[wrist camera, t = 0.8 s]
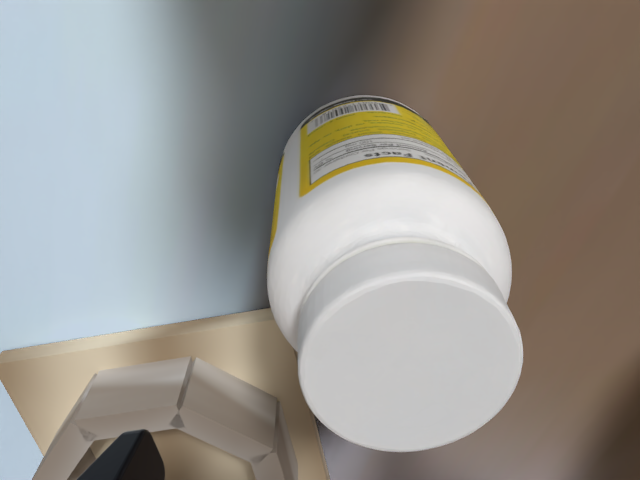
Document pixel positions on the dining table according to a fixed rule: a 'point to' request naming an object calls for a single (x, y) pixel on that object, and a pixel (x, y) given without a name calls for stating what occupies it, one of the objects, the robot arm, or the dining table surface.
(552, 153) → the dining table surface
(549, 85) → the dining table surface
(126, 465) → the robot arm
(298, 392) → the octagonal ring stand
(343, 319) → the supplement bottle
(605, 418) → the dining table surface
